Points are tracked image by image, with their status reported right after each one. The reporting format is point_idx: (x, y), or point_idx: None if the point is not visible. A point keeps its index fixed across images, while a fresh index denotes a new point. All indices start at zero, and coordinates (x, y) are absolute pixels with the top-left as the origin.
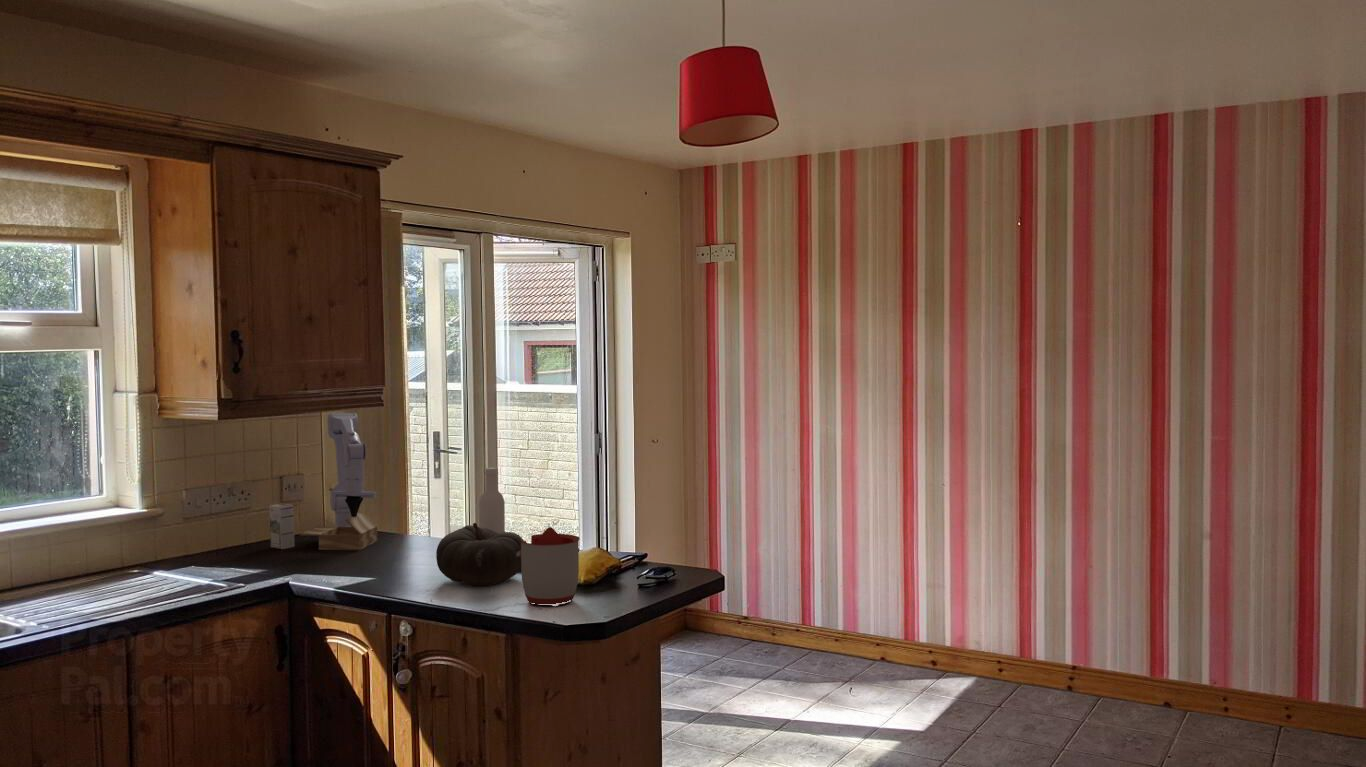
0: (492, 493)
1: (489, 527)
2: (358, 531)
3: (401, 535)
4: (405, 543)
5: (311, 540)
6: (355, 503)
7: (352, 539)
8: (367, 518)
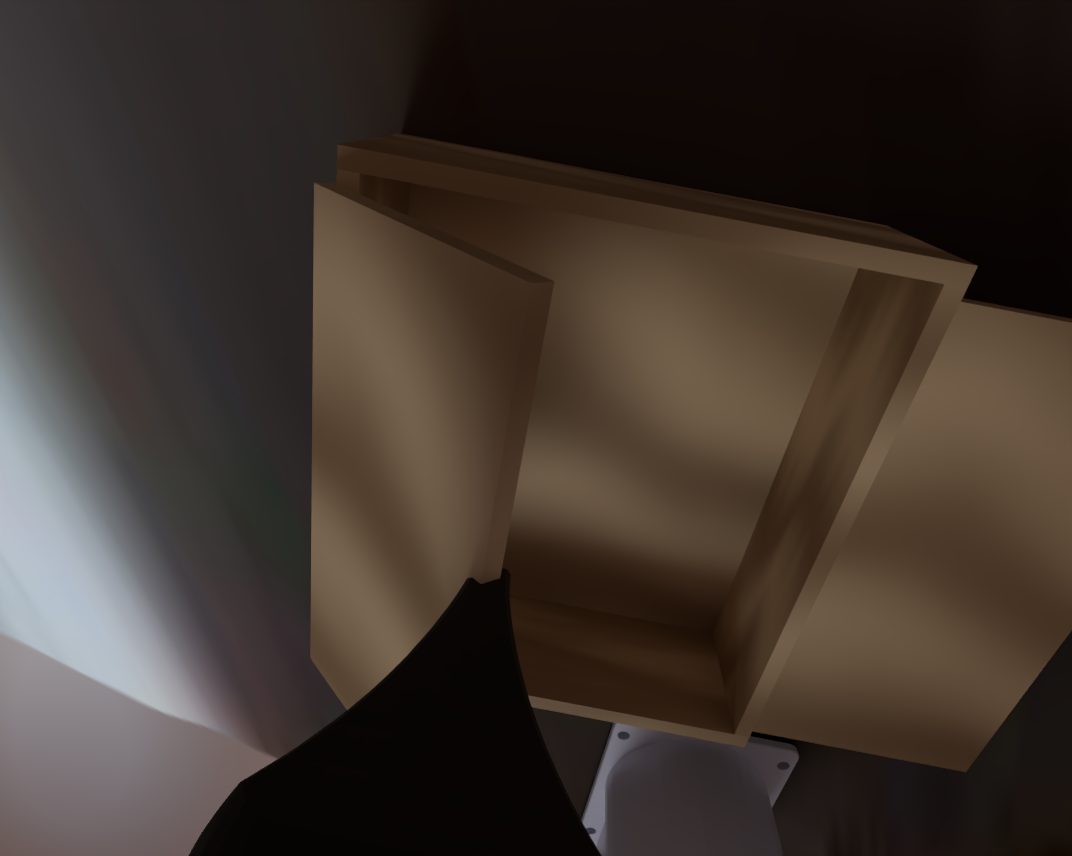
0: None
1: None
2: (346, 193)
3: (270, 740)
4: (87, 450)
5: None
6: (325, 753)
7: (460, 161)
8: None
